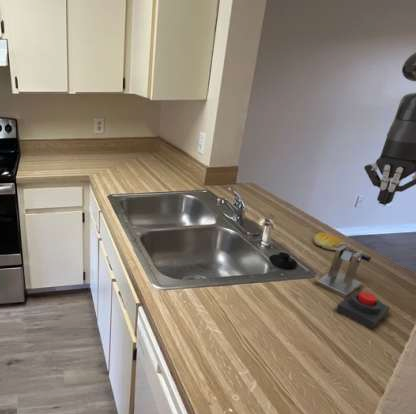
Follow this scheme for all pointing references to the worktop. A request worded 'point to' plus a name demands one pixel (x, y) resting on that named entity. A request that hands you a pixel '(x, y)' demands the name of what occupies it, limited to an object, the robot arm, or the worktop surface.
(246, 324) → the worktop surface
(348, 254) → the press lever
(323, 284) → the lever bracket
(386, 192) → the robot arm
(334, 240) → the bread roll
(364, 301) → the button
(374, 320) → the button block
